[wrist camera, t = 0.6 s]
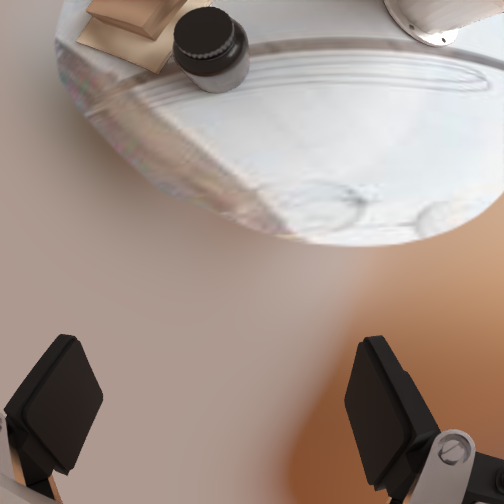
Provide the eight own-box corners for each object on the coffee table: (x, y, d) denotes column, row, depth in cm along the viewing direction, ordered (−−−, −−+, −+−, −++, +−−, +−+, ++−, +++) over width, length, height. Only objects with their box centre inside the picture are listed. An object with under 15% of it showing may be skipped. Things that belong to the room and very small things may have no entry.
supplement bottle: (249, 41, 27) (249, -6, 16) (248, 93, 29) (249, 65, 18) (190, 44, 27) (164, 2, 16) (188, 95, 29) (158, 71, 18)
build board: (147, -43, 21) (145, -46, 20) (231, -20, 24) (231, -24, 23) (80, 43, 26) (76, 41, 25) (158, 74, 28) (155, 72, 27)
